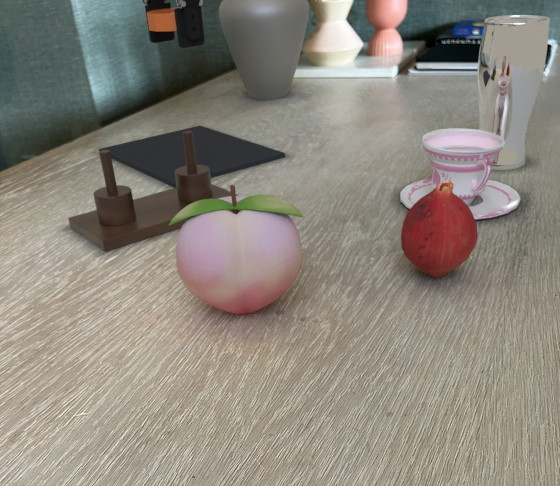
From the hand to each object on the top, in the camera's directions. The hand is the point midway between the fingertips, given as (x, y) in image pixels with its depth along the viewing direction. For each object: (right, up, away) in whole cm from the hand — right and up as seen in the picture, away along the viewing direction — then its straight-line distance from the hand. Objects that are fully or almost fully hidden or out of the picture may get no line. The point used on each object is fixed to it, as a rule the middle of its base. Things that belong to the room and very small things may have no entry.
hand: (176, 42), depth 79 cm
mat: (0, -11, +8) cm, 13 cm away
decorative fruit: (+9, -35, -28) cm, 45 cm away
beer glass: (+38, -15, -1) cm, 41 cm away
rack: (0, -23, -11) cm, 26 cm away
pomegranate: (+25, -31, -24) cm, 47 cm away
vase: (+10, +8, +35) cm, 37 cm away
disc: (0, +1, -1) cm, 2 cm away
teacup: (+31, -22, -10) cm, 39 cm away
